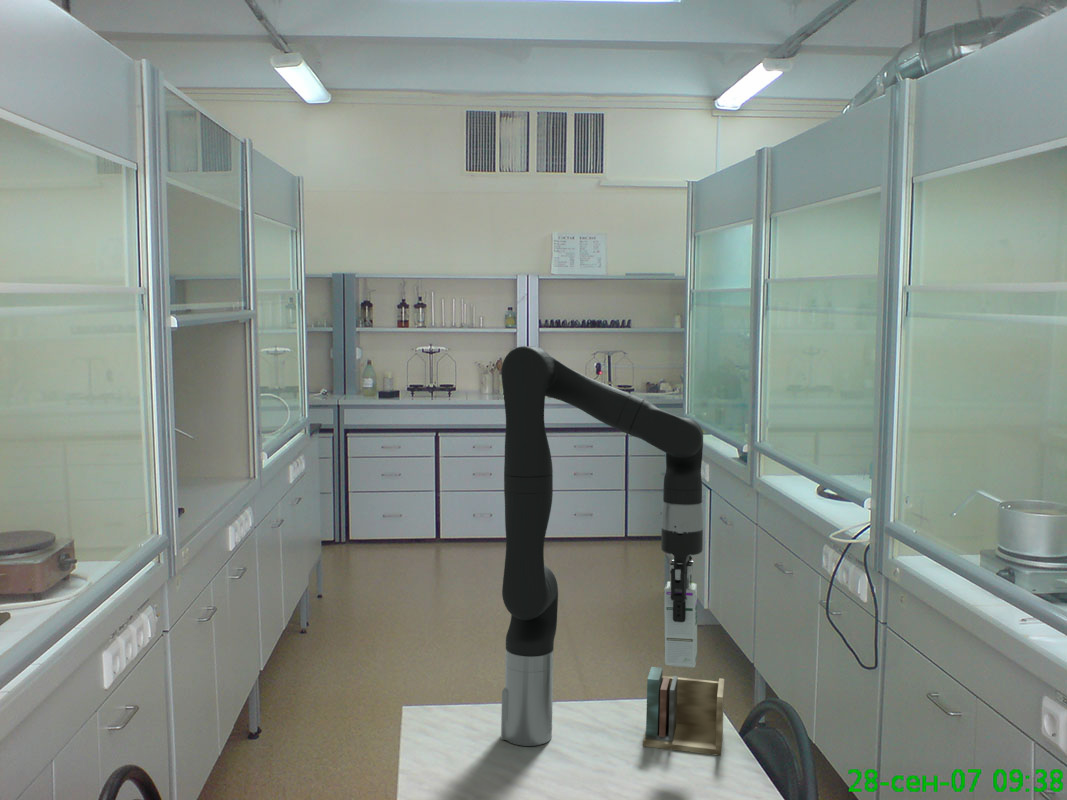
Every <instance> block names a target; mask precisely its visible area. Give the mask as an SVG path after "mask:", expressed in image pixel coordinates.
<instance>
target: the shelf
mask: <svg viewBox="0 0 1067 800" xmlns="http://www.w3.org/2000/svg"><path fill="white" fill-rule="evenodd" d="M663 669H664V668H663V667H656V666H651V667H650V670H649V673H648V676H647V677H646V678H647V681H646V712H645V713H646V715H645V716H646V718H645V719H646V722H645V733H644V735H643V740H642V747H648V748H655V749H656V748H657V749H665V750H671V749H672V750H674V751H680V750H681V752H688V751H690V752H689V753H696V752H698V754H705V753H706V755H713V754H717V755H716V756H721V755H722V747H723V746H722V745H723V737H724V736H723V735H724V734H723V733H724V707H725V705H724V704H725V678H720V677H719V679H718V681H716V680H706V679H696V678H688V677H687V678H686V677H679V676H678V675H673V676H668V675H663ZM672 750H671V751H672Z"/></svg>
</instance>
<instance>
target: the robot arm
mask: <svg viewBox="0 0 1067 800" xmlns="http://www.w3.org/2000/svg"><path fill="white" fill-rule="evenodd" d="M500 371H501V372H500V373H501V382H502V383H501V386H502V392H503V400H504V401H503V403H504V412H505V434H504V465H503V466H504V468H503V488H504V489H503V490H504V491H503V494H504V524H505V525H504V527H505V555H504V556H505V557H504V570H503V577H502V578H503V579H502V587H501V588H502V591H501V595H502V600H503V601H502V602H503V604H504V606H505V608H506V610H507V611H508V612H509V613H510V615H511V616H510V622H509V627H508V628H507V632H506V636H505V666H504V667H505V669H504V670H505V672H504V674H505V675H504V688H503V689H502V690H501V721H500V723H501V724H500V725H501V726H500V730H501V733H500V734H501V735H500V740H502V741H504V740H505V741H507V742H509V743H511V744H514V745H517V746H524V747H534V746H541V745H543V744H546V743H548V742H549V741H550V740H551V739H552V738H553V737H552V735H553V691H554V689H553V687H554V686H553V685H554V643H555V638H556V634H557V633H556V632H557V626H558V609H559V608H558V605H559V588H558V582H557V578H556V575H555V574H554V573H553V571H552V569H550V568H549V567H548V566H547V565H545V557H544V556H545V555H544V554H545V553H544V552H545V551H544V548H545V540H546V534H547V529H548V526H549V520H550V515H551V511H552V510H551V509H552V504H553V496H554V495H553V492H554V488H553V485H554V483H553V481H554V479H553V478H554V476H553V475H554V470H553V459H552V455H551V453H552V452H551V450H550V444H549V441H548V440H549V439H548V436H547V432H546V426H545V405H546V404H545V401H546V397H548V398H552V399H555V400H559V401H561V402H564V403H567V404H569V405H570V406H573V407H575V408H577V409H579V410H581V411H582V412H585V413H586V414H587V415H588V416H590V417H592V418H594V419H596V420H598V421H599V422H601V423H603V424H605V425H607V426H609V427H611V428H613V429H616V430H618V431H621V432H622V433H625V434H627V435H629V436H632V437H634V438H637V439H640V440H642V441H644V442H646V443H647V444H649V445H651V446H653V447H655V448H656V449H658V450H660V451H662V452H664V453H665V473H664V477H663V491H662V492H663V495H662V496H663V503H662V511H661V534H660V535H661V537H660V538H661V539H660V540H661V542H660V543H661V545H660V546H661V548H660V549H661V551H662V552H664V553H665V554H669V555H673V559H671V562H669V572H670V579H669V580H670V581H669V582H670V586H671V600H672V601H673V621H675V622H684V621H685V617H686V600H687V597H686V591H687V589H689V588H690V583H691V582H693V571H694V561H693V556H696V555H700V554H702V551H703V549H704V548H703V547H704V546H703V543H704V542H703V541H704V540H703V539H704V538H703V535H704V527H703V526H704V514H703V513H704V512H703V503H702V501H703V480H702V465H703V464H702V463H703V451H704V449H703V448H704V431H703V429H702V426H701V425H700V424H699V423H698V422H697V421H696V420H694V419H693V418H689V417H680V416H678V415H675V414H673V413H669V412H667V411H665V410H662V409H660V408H658V407H657V406H656V405H655V404H654V403H651V402H650V401H648V400H646V399H643V398H640V397H639V396H636V395H634V394H631V393H629V392H626V391H624V390H621V389H619V388H616V387H613V386H612V385H609V384H606V383H603V382H602V381H599V380H596V379H593V378H591V377H588V376H586V375H585V374H582V373H581V372H579V371H577V370H575V369H574V368H571V367H569V366H567V365H566V364H564V363H563V362H561V361H560V360H559V359H557V358H555V357H554V356H553V355H551V354H549V353H548V352H546V350H544V349H542V348H540V347H536V346H529V345H527V346H526V345H523V346H518V347H515V348H513V349H511V350H510V351H509V353H507V354H506V356H505V357H504V359H503V362H502V365H501V369H500ZM676 589H682V594H676Z"/></svg>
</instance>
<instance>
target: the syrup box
mask: <svg viewBox="0 0 1067 800" xmlns="http://www.w3.org/2000/svg"><path fill="white" fill-rule="evenodd" d="M663 590H664V597H663V598H664V600H663V601H664V604H663V605H664V609H663V611H664V612H663V613H664V614H663V615H664V619H663V622H664V624H663V625H664V628H663V629H664V633H663V634H664V635H663V636H664V637H663V638H664V640H663V641H664V648H663V649H664V653H663V655H664V665H665V666H669V667H679V668H693V669H694V668H696V664H697V660H698V592H697V591H698V584H697V583H696V582H693V581H692V582H691V583H690V588H689V589H687V591H686V597H687V600H686V617H685V621H684V622H675V621H673V601H672V600H671V586H670V581H666V584H665V587H664V589H663ZM676 594H682V589H676Z"/></svg>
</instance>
